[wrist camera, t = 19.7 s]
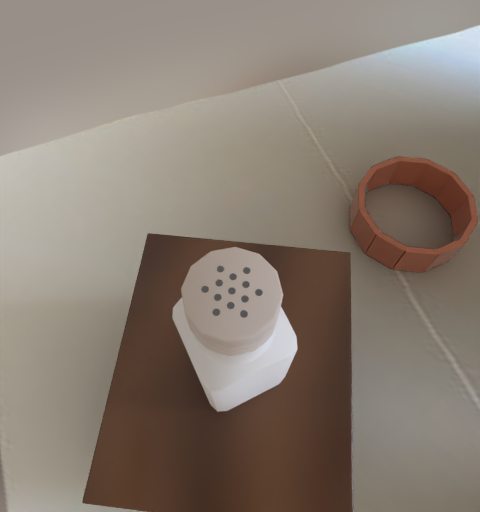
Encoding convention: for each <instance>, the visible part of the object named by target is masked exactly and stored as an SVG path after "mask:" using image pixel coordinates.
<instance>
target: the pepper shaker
mask: <svg viewBox="0 0 480 512" xmlns="http://www.w3.org/2000/svg"><path fill="white" fill-rule="evenodd" d="M181 293H182V298H181V299H180V300H179V301H178V302H177V303H176V305H175V306H174V307H173V315H172V318H173V321H174V323H175V325H176V328H177V330H178V332H179V334H180V337H181V339H182V341H183V344H184V346H185V348H186V350H187V353H188V355H189V357H190V359H191V362H192V364H193V366H194V369H195V371H196V373H197V375H198V378H199V380H200V382H201V385H202V387H203V389H204V391H205V394H206V396H207V398H208V400H209V403H210V405H211V406H212V407H213V408H214V409H215V410H216V411H217V412H219V411H228V410H230V409H232V408H234V407H236V406H238V405H240V404H242V403H244V402H246V401H248V400H249V399H251V398H253V397H255V396H257V395H259V394H261V393H263V392H265V391H267V390H269V389H271V388H273V387H275V386H277V385H278V384H280V383H281V381H282V380H283V379H284V378H285V376H286V374H287V372H288V369H289V367H290V365H291V363H292V360H293V358H294V356H295V354H296V352H297V349H298V348H297V336H296V334H295V332H294V330H293V328H292V326H291V324H290V322H289V320H288V318H287V317H286V315H285V313H284V311H283V309H282V307H281V303H282V299H283V292H282V288H281V284H280V280H279V277H278V273H277V271H276V270H275V269H274V268H273V267H272V266H271V265H270V264H269V263H268V262H267V261H266V260H265V259H264V258H263V257H262V256H261V255H260V254H258V253H254V252H251V251H248V250H244V249H241V248H238V247H232V248H226V249H220V250H215V251H210V252H209V253H208V254H207V255H205V256H204V257H203V258H201V259H200V260H199V261H197V262H196V263H195V264H193V265H192V266H191V267H190V269H189V272H188V274H187V276H186V278H185V281H184V283H183V285H182V288H181Z"/></svg>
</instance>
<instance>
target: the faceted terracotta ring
mask: <svg viewBox="0 0 480 512" xmlns="http://www.w3.org/2000/svg"><path fill="white" fill-rule="evenodd" d="M388 183H389V184H401V185H412V186H415V187H417V188H419V189H421V190H422V191H424V192H426V193H428V194H430V195H432V196H434V197H436V198H437V200H438V201H439V202H440V203H441V205H442V206H443V207H444V209H445V210H446V211H447V212H448V214H449V215H450V216H451V221H452V228H453V235H454V239H453V241H452V243H450V244H447V245H445V246H443V247H440V248H438V249H428V248H418V247H407V246H405V245H403V244H401V243H399V242H398V241H396V240H394V239H392V238H391V237H389V236H387V235H385V234H384V233H382V232H380V231H379V229H378V228H377V226H376V225H375V223H374V222H373V220H372V219H371V217H370V216H369V215H368V213H367V212H366V210H365V194H366V193H367V191H370V190H372V189H375V188H377V187H380V186H383V185H385V184H388ZM477 222H478V218H477V212H476V206H475V200H474V196H473V194H472V193H471V191H470V190H469V189H468V188H467V187H466V185H465V184H464V183H463V182H462V181H461V180H460V178H459V177H458V176H457V175H456V174H455V173H454V172H452V171H450V170H448V169H446V168H444V167H442V166H440V165H438V164H436V163H434V162H432V161H430V160H427V159H421V158H409V157H395V158H393V159H390V160H387V161H385V162H382V163H379V164H376V165H374V166H372V167H371V169H370V170H369V171H368V173H367V174H366V175H365V177H364V178H363V180H362V181H361V182H360V184H359V185H358V188H357V190H356V193H355V195H354V197H353V200H352V202H351V205H350V231H351V233H352V234H353V236H354V237H355V239H356V240H357V242H358V243H359V245H360V246H361V248H362V249H363V251H364V253H366V254H367V255H368V256H370V257H372V258H374V259H375V260H377V261H379V262H380V263H382V264H384V265H385V266H387V267H389V268H390V269H392V268H393V270H403V271H413V272H425V271H427V270H430V269H432V268H434V267H437V266H439V265H441V264H443V263H446V262H448V261H449V260H450V259H451V258H452V257H453V256H454V255H455V254H456V252H457V251H458V250H459V249H460V248H461V247H462V246H463V245H464V244H465V243H466V242H467V240H468V238H469V237H470V235H471V233H472V231H473V229H474V228H475V226H476V224H477Z"/></svg>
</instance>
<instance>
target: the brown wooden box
mask: <svg viewBox="0 0 480 512" xmlns="http://www.w3.org/2000/svg"><path fill="white" fill-rule="evenodd" d="M232 247H238V248H241V249H244V250H248V251H251V252H254V253H258V254H260V255H261V256H262V257H263V258H264V259H265V260H266V261H267V262H268V263H269V264H270V265H271V266H272V267H273V268H274V269H275V270H276V271H277V273H278V277H279V280H280V284H281V288H282V292H283V299H282V303H281V307H282V309H283V311H284V313H285V315H286V317H287V318H288V320H289V322H290V324H291V326H292V328H293V330H294V332H295V334H296V336H297V348H298V349H297V352H296V354H295V356H294V358H293V360H292V363H291V365H290V367H289V369H288V372H287V374H286V376H285V378H284V379H283V380H282V381H281V383H280V384H278V385H277V386H275V387H273V388H271V389H269V390H267V391H265V392H263V393H261V394H259V395H257V396H255V397H253V398H251V399H249V400H248V401H246V402H244V403H242V404H240V405H238V406H236V407H234V408H232V409H230V410H228V411H219V412H217V411H216V410H215V409H214V408H213V407H212V406H211V405H210V403H209V400H208V398H207V396H206V394H205V391H204V389H203V387H202V385H201V382H200V380H199V378H198V375H197V373H196V371H195V369H194V366H193V364H192V362H191V359H190V357H189V355H188V353H187V350H186V348H185V346H184V344H183V341H182V339H181V337H180V334H179V332H178V330H177V328H176V325H175V323H174V321H173V318H172V315H173V307H174V306H175V305H176V303H177V302H178V301H179V300H180V299H181V298H182V293H181V288H182V285H183V283H184V281H185V278H186V276H187V274H188V272H189V269H190V267H191V266H192V265H193V264H195V263H196V262H197V261H199V260H200V259H201V258H203V257H204V256H205V255H207V254H208V253H209V252H210V251H215V250H220V249H226V248H232ZM82 502H83V503H86V504H93V505H101V506H108V507H116V508H124V509H131V510H139V511H147V512H353V455H352V362H351V268H350V253H348V252H337V251H327V250H317V249H306V248H296V247H285V246H275V245H264V244H254V243H243V242H233V241H222V240H212V239H201V238H191V237H181V236H170V235H160V234H149V233H148V235H147V239H146V243H145V247H144V251H143V256H142V260H141V264H140V268H139V272H138V276H137V280H136V284H135V288H134V292H133V297H132V301H131V305H130V309H129V313H128V317H127V321H126V325H125V329H124V333H123V338H122V342H121V346H120V350H119V354H118V358H117V362H116V366H115V370H114V374H113V379H112V383H111V387H110V391H109V395H108V399H107V403H106V407H105V411H104V415H103V419H102V424H101V428H100V432H99V436H98V440H97V444H96V448H95V452H94V456H93V460H92V465H91V469H90V473H89V477H88V481H87V485H86V489H85V493H84V497H83V501H82Z"/></svg>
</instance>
